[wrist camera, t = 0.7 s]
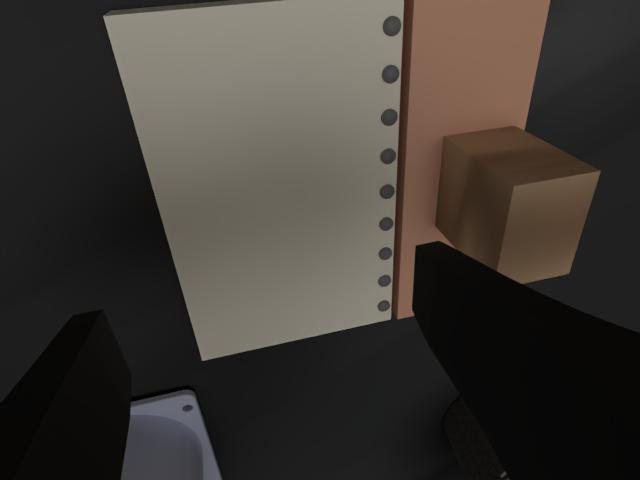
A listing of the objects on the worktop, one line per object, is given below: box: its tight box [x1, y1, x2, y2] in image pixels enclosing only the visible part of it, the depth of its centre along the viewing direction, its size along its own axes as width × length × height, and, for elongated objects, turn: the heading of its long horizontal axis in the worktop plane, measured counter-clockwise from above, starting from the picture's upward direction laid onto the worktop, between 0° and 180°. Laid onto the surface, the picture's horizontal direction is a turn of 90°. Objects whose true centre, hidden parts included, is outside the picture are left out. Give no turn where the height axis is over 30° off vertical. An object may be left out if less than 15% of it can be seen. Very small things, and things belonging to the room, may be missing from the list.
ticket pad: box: [103, 0, 404, 361], centre depth 18 cm, size 14×9×2 cm, turn 3°
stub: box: [391, 0, 601, 319], centre depth 17 cm, size 14×5×6 cm, turn 3°
